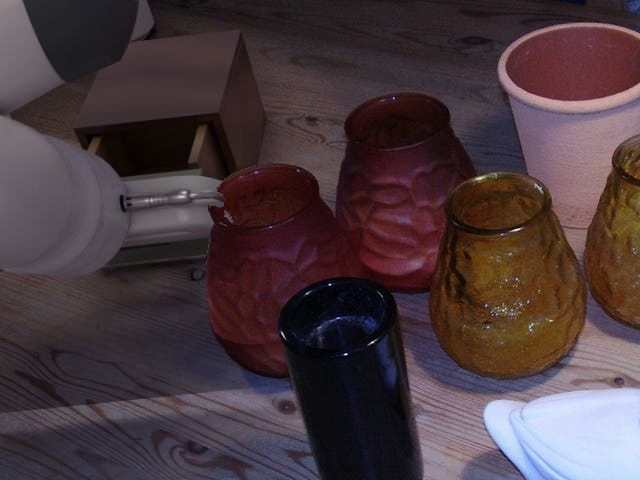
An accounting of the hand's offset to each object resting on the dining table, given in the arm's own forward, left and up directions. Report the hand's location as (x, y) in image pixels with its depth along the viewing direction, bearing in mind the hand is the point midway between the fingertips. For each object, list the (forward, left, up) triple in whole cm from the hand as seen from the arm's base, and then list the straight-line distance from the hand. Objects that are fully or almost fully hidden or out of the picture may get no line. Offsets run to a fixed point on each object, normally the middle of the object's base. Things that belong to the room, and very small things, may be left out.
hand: (135, 231), depth 80 cm
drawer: (0, +7, -5) cm, 8 cm away
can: (-13, +47, -6) cm, 49 cm away
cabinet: (0, +18, -6) cm, 19 cm away
